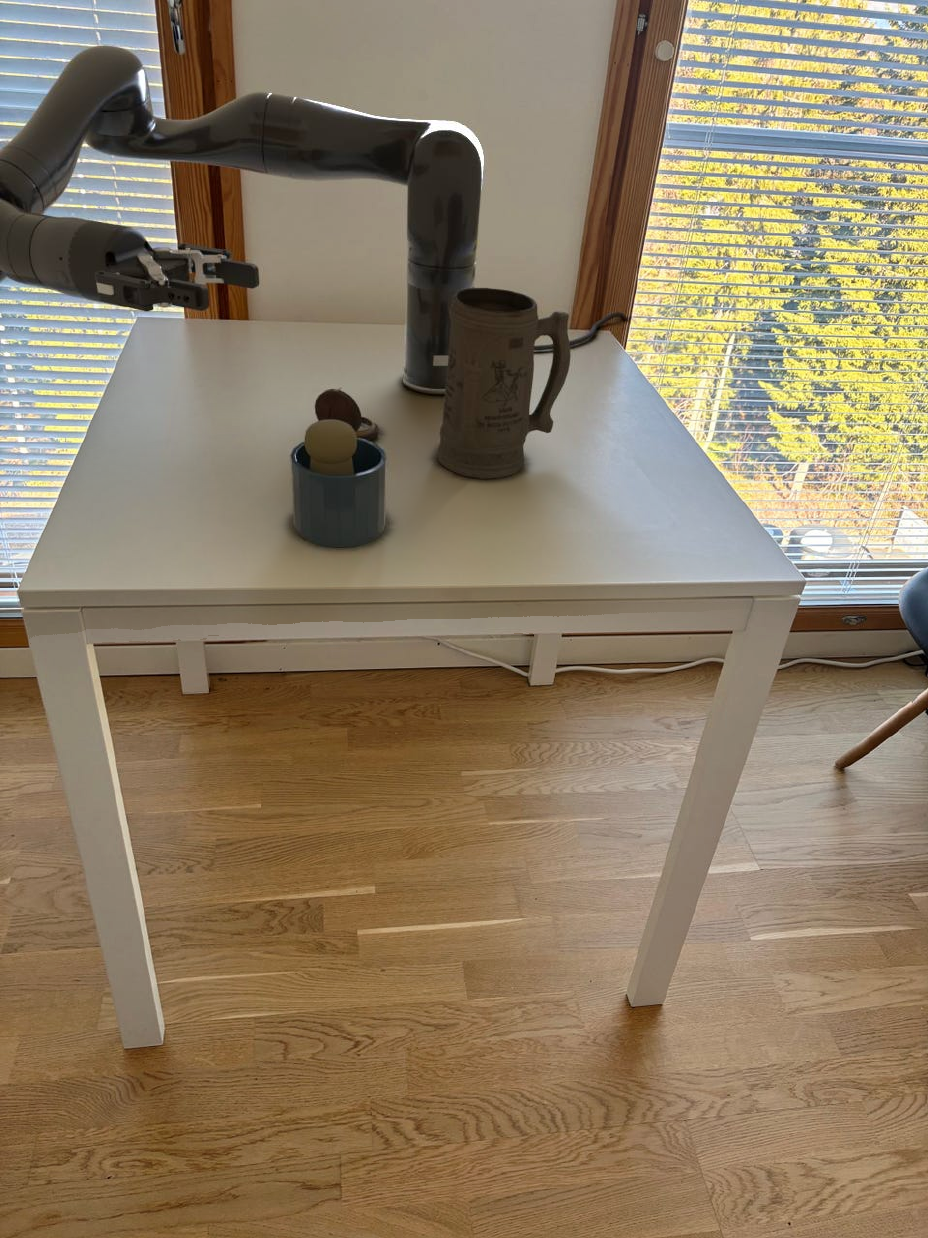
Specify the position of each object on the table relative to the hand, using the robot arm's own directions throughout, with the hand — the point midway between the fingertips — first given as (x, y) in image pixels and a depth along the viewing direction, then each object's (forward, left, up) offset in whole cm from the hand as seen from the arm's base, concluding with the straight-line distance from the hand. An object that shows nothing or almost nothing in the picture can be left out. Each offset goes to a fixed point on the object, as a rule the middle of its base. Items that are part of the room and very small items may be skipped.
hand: (232, 287), depth 86 cm
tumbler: (-6, +9, -23) cm, 25 cm away
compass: (-17, -11, -23) cm, 31 cm away
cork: (-5, +9, -22) cm, 25 cm away
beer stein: (-31, +3, -23) cm, 39 cm away
